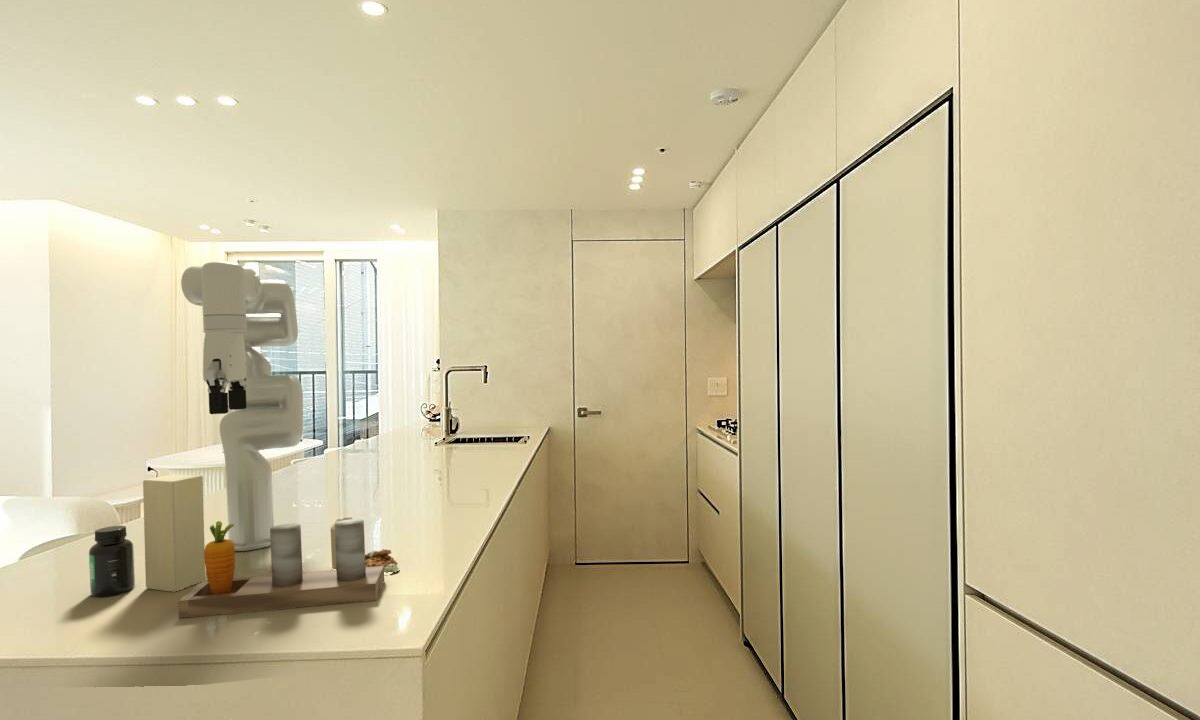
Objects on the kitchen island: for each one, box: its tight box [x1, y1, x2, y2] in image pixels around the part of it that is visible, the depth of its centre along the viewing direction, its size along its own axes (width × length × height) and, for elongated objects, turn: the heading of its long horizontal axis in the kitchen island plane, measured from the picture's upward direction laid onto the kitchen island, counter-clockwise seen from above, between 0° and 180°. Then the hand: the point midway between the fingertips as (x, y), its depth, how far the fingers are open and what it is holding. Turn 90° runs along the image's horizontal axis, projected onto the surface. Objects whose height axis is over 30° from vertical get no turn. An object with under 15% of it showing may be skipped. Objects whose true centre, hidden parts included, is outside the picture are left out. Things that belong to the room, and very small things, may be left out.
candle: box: [330, 517, 353, 570], centre depth 136 cm, size 6×6×10 cm
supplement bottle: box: [88, 525, 136, 598], centre depth 126 cm, size 7×7×12 cm
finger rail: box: [177, 518, 385, 619], centre depth 119 cm, size 10×32×13 cm, turn 100°
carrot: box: [204, 520, 236, 595], centre depth 118 cm, size 5×5×15 cm
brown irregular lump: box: [365, 548, 400, 573], centre depth 136 cm, size 7×12×4 cm, turn 49°
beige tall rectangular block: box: [142, 473, 206, 593], centre depth 129 cm, size 8×7×21 cm
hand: (228, 411), depth 131 cm, fingers open, 9 cm apart
